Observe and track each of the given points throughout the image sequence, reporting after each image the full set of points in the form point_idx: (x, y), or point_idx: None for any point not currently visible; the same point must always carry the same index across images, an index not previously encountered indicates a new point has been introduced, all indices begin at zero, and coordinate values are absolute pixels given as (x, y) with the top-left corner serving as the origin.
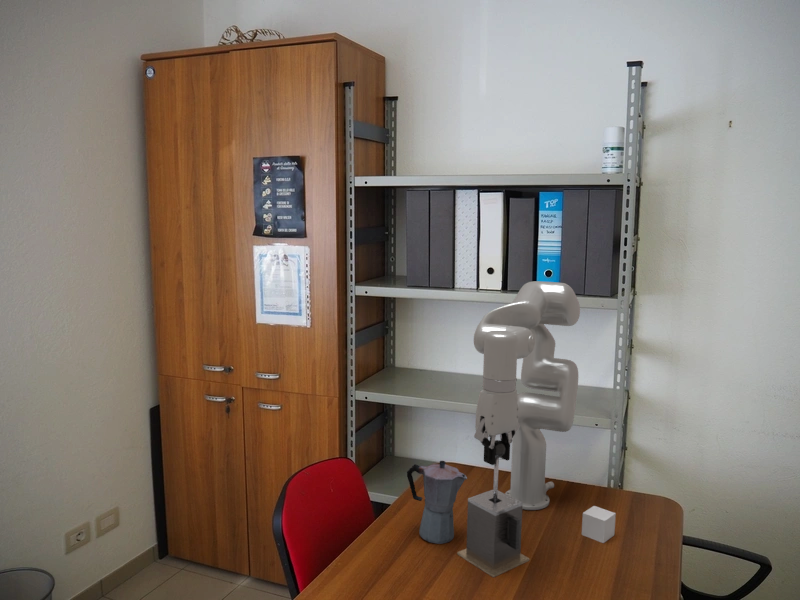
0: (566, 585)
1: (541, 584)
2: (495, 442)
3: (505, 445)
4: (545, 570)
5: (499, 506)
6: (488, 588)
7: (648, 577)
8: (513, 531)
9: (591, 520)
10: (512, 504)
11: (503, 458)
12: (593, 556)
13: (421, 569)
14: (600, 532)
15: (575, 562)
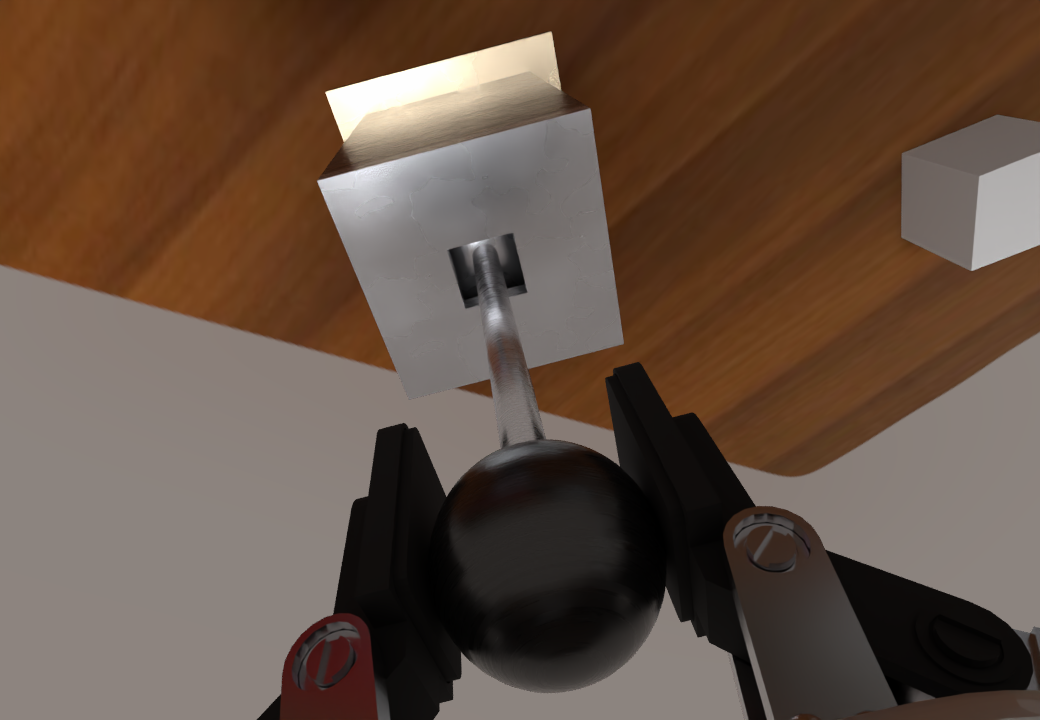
0: (596, 391)
1: (532, 368)
2: (516, 680)
3: (673, 592)
4: None
5: (468, 348)
6: (358, 337)
7: (819, 422)
8: None
9: (960, 210)
10: (553, 349)
11: (616, 443)
12: (795, 294)
13: (123, 143)
14: (929, 237)
15: (716, 304)
